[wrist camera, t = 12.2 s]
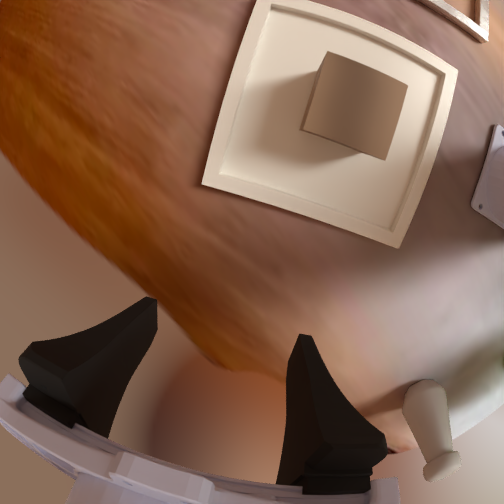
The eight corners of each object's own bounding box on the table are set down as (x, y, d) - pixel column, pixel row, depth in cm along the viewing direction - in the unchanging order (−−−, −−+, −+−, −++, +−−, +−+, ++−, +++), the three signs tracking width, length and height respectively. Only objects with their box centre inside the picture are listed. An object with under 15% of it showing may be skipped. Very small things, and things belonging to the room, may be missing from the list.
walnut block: (379, 94, 15) (408, 85, 11) (361, 152, 17) (385, 160, 13) (317, 70, 15) (327, 50, 11) (299, 130, 17) (303, 129, 13)
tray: (450, 72, 14) (458, 70, 12) (393, 242, 20) (398, 249, 19) (262, -3, 13) (260, -10, 12) (206, 181, 20) (201, 184, 19)
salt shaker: (393, 390, 27) (413, 484, 15) (434, 367, 25) (468, 458, 13) (406, 407, 28) (424, 490, 17) (443, 387, 26) (470, 467, 15)
